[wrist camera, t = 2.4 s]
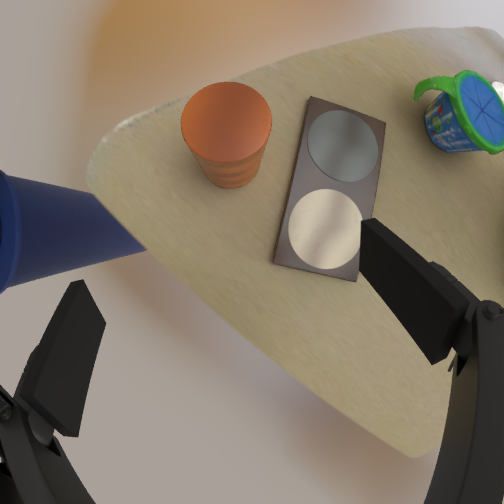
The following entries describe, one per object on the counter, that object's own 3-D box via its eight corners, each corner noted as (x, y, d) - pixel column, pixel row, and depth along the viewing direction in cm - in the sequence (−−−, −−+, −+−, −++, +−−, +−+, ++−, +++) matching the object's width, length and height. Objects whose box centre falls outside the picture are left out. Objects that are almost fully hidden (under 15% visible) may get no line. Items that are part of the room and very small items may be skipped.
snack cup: (390, 126, 32) (434, 99, 22) (406, 73, 31) (443, 41, 21) (469, 186, 33) (517, 179, 23) (479, 131, 32) (521, 117, 22)
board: (271, 262, 33) (273, 263, 31) (308, 99, 31) (310, 95, 30) (352, 280, 33) (356, 282, 32) (382, 125, 32) (386, 122, 30)
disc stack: (196, 181, 31) (169, 153, 19) (210, 129, 31) (195, 75, 18) (252, 194, 32) (260, 171, 19) (265, 141, 31) (280, 91, 19)
